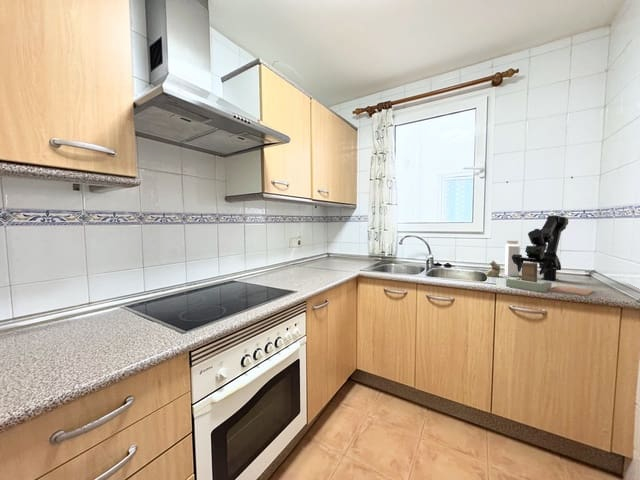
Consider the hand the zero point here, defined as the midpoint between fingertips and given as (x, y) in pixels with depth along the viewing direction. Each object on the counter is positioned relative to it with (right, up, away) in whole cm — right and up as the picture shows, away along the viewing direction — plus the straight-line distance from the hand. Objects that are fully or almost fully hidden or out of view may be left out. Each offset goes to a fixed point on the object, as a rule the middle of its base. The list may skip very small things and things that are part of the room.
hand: (528, 273), depth 136 cm
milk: (+13, -6, +31) cm, 34 cm away
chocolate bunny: (+1, -6, +30) cm, 30 cm away
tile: (+14, -8, -8) cm, 18 cm away
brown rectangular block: (+1, -7, +1) cm, 7 cm away
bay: (+1, -7, +1) cm, 7 cm away
